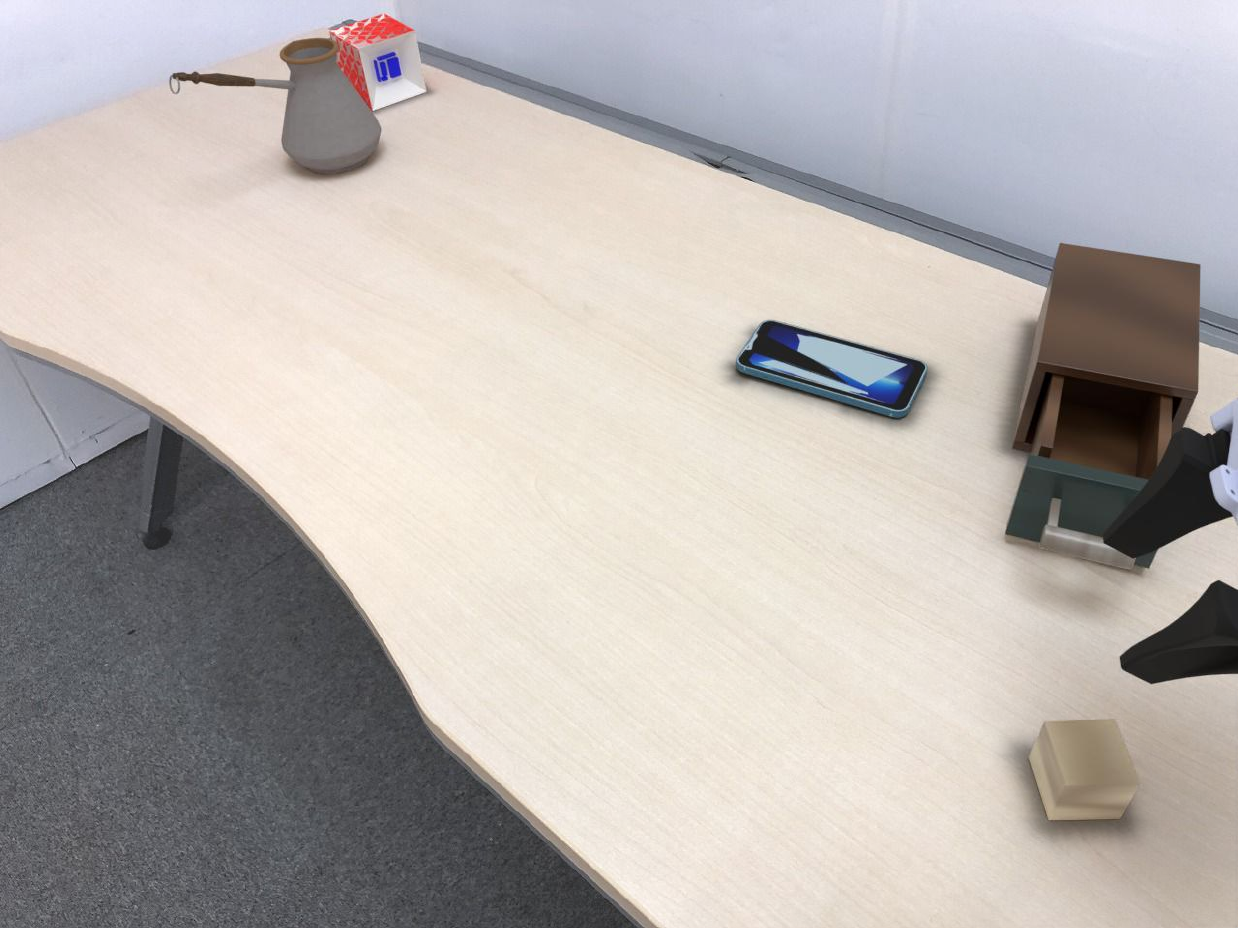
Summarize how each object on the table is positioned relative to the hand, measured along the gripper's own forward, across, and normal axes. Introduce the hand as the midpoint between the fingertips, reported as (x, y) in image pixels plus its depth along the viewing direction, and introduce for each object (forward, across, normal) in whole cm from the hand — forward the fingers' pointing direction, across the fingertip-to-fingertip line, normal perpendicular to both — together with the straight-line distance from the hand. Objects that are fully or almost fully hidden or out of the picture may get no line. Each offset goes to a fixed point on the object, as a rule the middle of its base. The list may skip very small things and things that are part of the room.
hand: (1126, 605), depth 52 cm
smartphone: (+21, -33, -6) cm, 39 cm away
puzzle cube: (+55, -82, -56) cm, 113 cm away
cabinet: (+11, -32, +13) cm, 36 cm away
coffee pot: (+54, -61, -58) cm, 100 cm away
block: (+11, +4, +7) cm, 14 cm away
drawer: (+10, -20, +10) cm, 24 cm away
